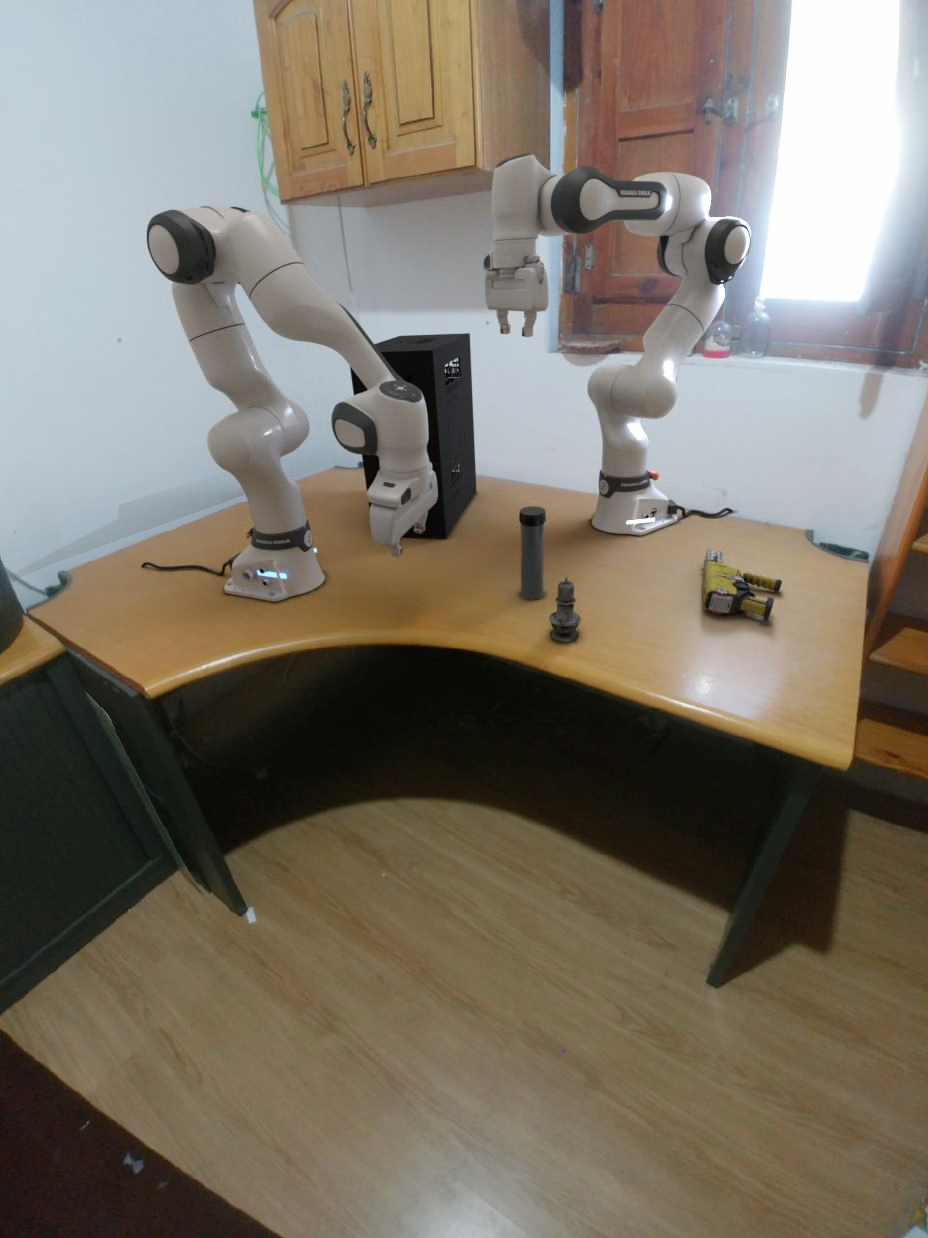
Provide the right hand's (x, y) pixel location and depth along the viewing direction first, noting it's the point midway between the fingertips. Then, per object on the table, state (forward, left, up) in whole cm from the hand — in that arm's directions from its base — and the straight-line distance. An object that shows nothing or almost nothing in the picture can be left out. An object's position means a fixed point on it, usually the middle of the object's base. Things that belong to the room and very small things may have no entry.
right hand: (516, 335), depth 125 cm
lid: (+9, +23, -30) cm, 39 cm away
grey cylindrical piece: (+9, +23, -48) cm, 54 cm away
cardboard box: (+9, -36, -48) cm, 61 cm away
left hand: (+33, +16, -33) cm, 50 cm away
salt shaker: (+12, +40, -48) cm, 64 cm away
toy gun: (-28, +44, -48) cm, 71 cm away
